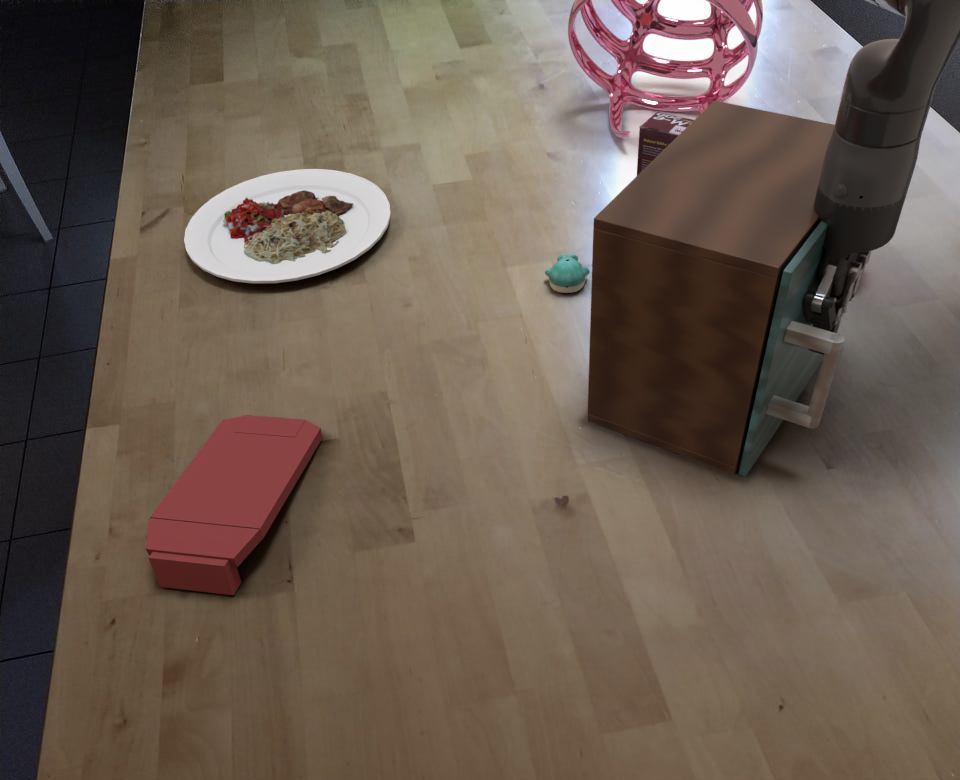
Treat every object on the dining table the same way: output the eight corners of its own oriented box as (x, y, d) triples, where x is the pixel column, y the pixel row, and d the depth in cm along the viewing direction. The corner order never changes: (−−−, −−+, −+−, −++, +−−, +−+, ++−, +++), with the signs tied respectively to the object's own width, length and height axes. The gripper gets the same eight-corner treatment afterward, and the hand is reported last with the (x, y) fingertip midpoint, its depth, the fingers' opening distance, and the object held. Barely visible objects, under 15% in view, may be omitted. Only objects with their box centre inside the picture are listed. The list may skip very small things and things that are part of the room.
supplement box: (703, 246, 121) (720, 123, 108) (687, 264, 119) (702, 140, 106) (646, 230, 124) (656, 109, 112) (629, 247, 122) (637, 126, 109)
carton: (236, 448, 109) (141, 584, 92) (227, 413, 105) (126, 547, 88) (331, 457, 107) (252, 597, 90) (324, 421, 103) (240, 560, 86)
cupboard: (825, 342, 107) (883, 134, 88) (734, 474, 95) (779, 267, 76) (687, 301, 114) (714, 100, 95) (587, 420, 102) (593, 218, 83)
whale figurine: (543, 297, 117) (543, 270, 114) (546, 265, 121) (546, 238, 118) (588, 296, 116) (589, 270, 113) (590, 265, 120) (590, 238, 117)
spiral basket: (696, 49, 112) (755, -163, 112) (512, 73, 128) (564, -113, 127) (755, 175, 136) (804, 1, 136) (593, 183, 151) (637, 26, 151)
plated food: (386, 285, 121) (382, 262, 118) (169, 300, 123) (161, 278, 120) (397, 174, 139) (393, 151, 136) (207, 188, 140) (200, 167, 138)
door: (877, 356, 105) (948, 148, 86) (792, 494, 93) (852, 289, 74) (827, 341, 107) (886, 136, 88) (738, 474, 95) (782, 270, 76)
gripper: (880, 228, 74) (831, 396, 88) (931, 156, 80) (877, 324, 94) (793, 208, 77) (759, 374, 91) (848, 140, 83) (808, 305, 97)
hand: (819, 348), depth 93 cm, fingers closed
